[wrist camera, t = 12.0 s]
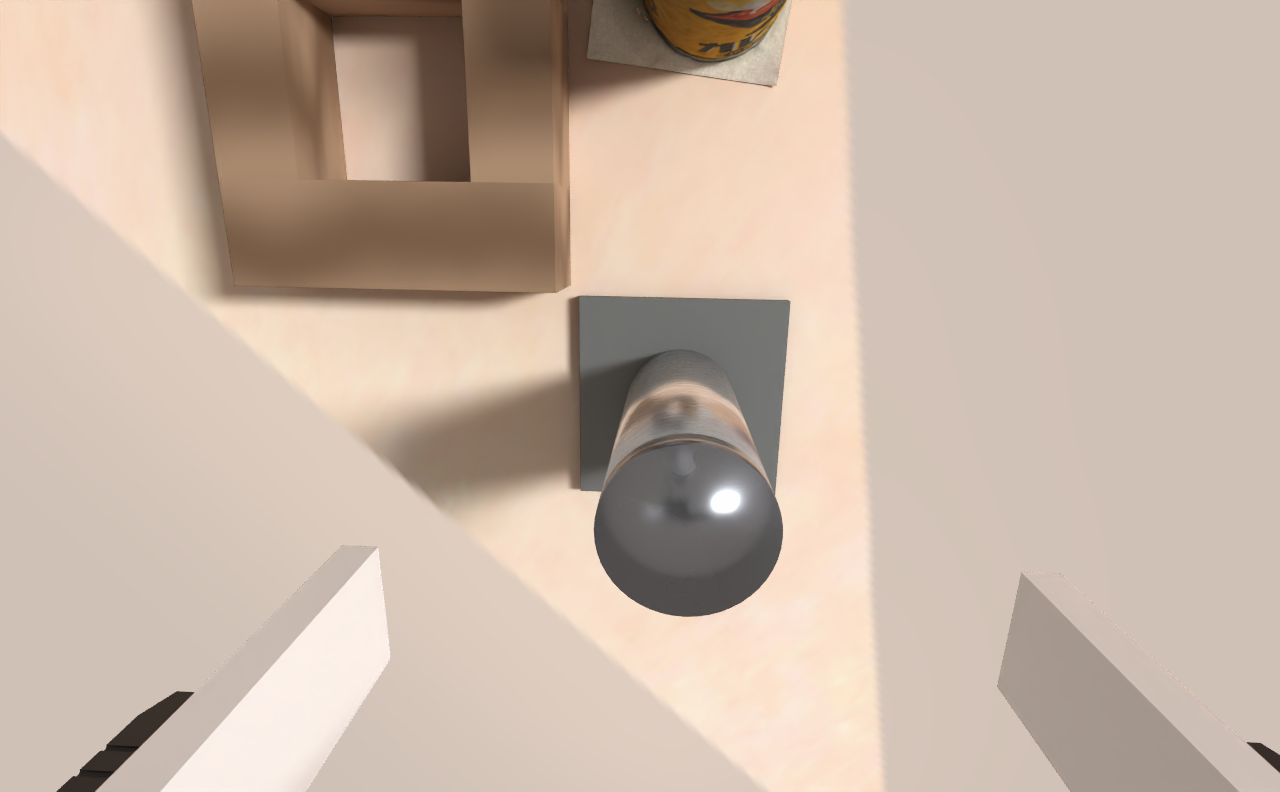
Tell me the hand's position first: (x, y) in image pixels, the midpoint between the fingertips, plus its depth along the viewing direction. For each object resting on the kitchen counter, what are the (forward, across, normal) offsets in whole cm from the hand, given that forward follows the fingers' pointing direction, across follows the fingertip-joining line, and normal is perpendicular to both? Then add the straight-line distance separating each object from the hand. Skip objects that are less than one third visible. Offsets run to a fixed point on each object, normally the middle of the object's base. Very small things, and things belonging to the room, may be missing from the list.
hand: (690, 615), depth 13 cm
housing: (+19, -12, +13) cm, 26 cm away
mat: (+19, 0, -1) cm, 19 cm away
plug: (+18, 0, -1) cm, 18 cm away
